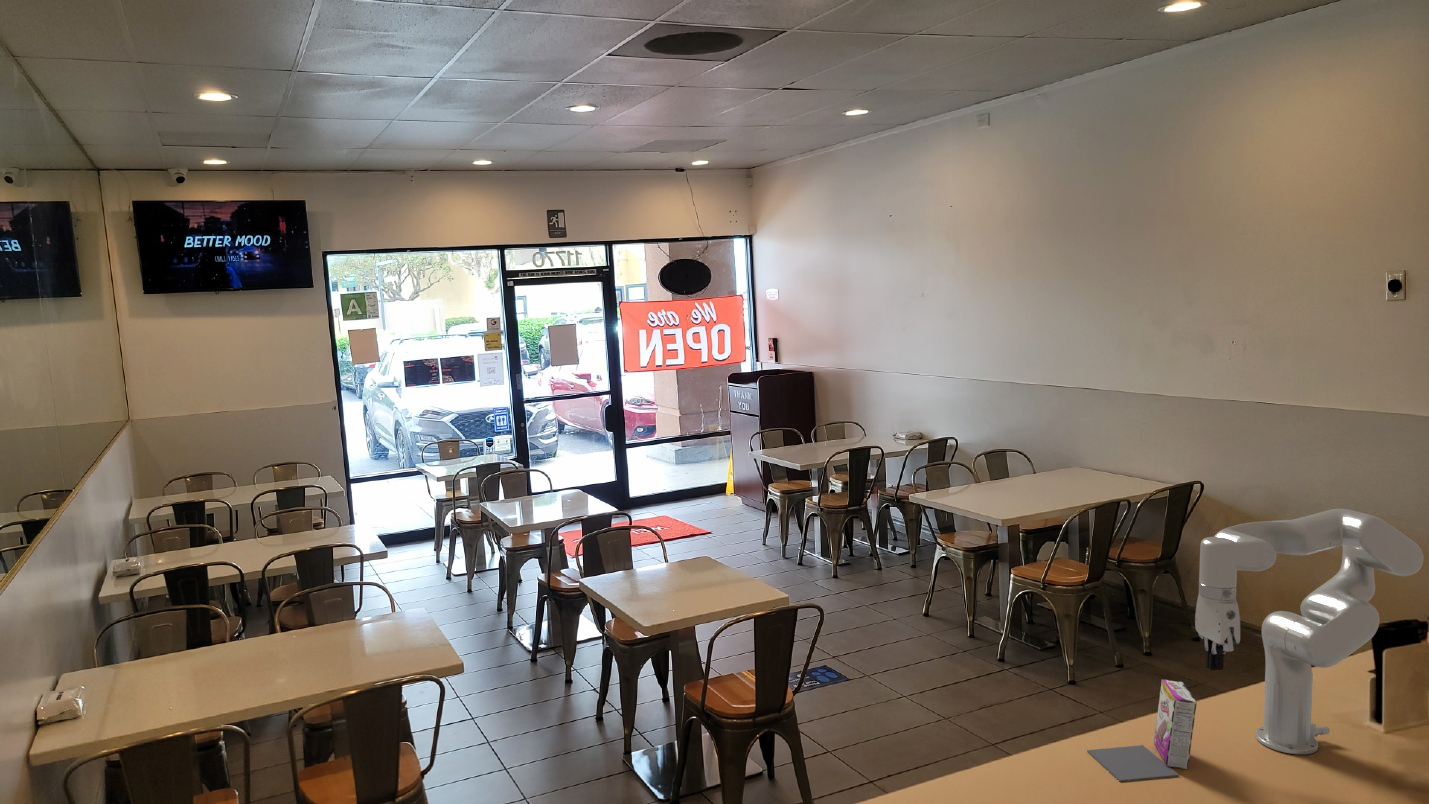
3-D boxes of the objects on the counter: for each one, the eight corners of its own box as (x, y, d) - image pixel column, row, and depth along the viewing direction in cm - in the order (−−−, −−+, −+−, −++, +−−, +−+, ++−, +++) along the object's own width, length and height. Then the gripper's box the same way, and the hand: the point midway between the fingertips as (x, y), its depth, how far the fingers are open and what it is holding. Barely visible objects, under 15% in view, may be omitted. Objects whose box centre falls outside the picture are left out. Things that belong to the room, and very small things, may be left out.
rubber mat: (1142, 746, 218) (1142, 745, 218) (1178, 776, 204) (1178, 774, 204) (1087, 751, 216) (1087, 750, 216) (1119, 781, 202) (1119, 780, 202)
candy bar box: (1151, 743, 218) (1160, 678, 216) (1174, 747, 217) (1183, 681, 215) (1164, 766, 207) (1174, 698, 205) (1188, 770, 206) (1198, 701, 204)
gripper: (1255, 600, 202) (1252, 680, 204) (1211, 581, 217) (1208, 655, 219) (1223, 602, 202) (1220, 682, 203) (1181, 583, 216) (1179, 657, 218)
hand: (1214, 668), depth 211 cm, fingers closed
